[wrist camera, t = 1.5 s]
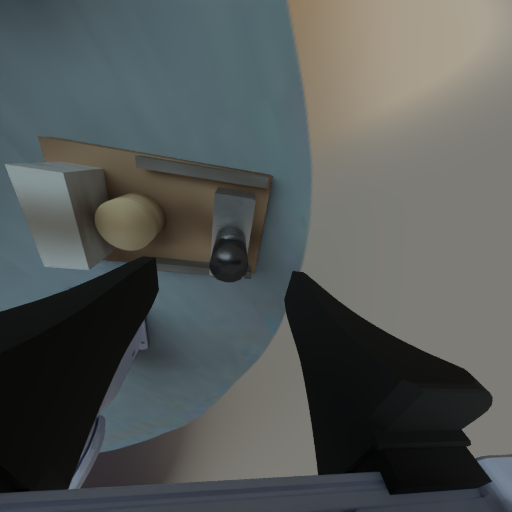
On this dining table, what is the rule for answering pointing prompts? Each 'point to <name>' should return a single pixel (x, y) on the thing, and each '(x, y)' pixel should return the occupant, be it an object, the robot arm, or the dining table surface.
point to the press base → (121, 183)
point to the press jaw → (231, 233)
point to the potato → (130, 221)
